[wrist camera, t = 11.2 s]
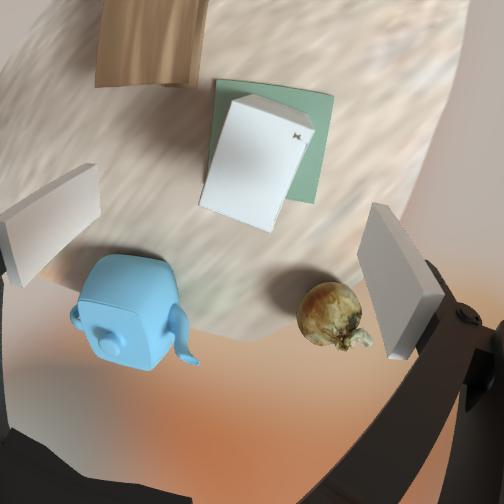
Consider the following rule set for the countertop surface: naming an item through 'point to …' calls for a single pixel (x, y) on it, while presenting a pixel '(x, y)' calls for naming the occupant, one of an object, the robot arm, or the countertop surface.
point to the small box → (255, 160)
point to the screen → (150, 43)
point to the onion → (332, 317)
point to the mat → (298, 99)
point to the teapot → (132, 312)
